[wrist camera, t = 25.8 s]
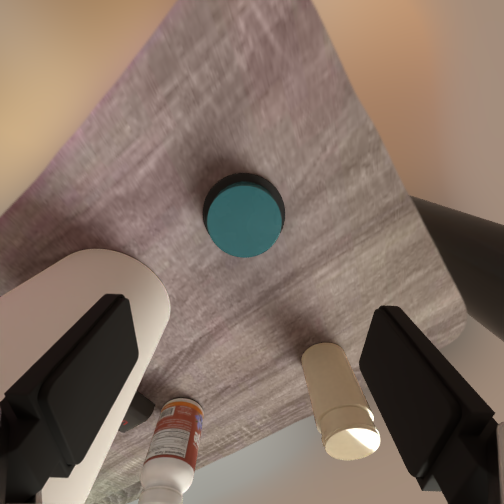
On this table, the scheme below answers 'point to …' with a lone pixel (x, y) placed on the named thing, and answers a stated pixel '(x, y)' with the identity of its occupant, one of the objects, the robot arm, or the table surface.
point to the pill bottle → (172, 453)
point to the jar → (339, 403)
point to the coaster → (242, 178)
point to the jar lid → (244, 219)
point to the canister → (62, 319)
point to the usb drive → (136, 412)
